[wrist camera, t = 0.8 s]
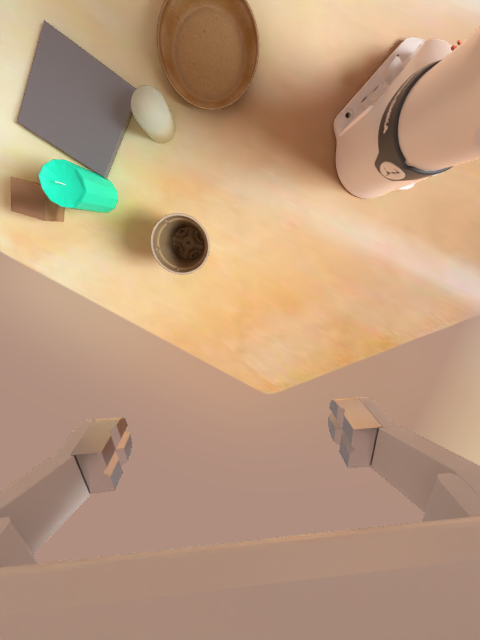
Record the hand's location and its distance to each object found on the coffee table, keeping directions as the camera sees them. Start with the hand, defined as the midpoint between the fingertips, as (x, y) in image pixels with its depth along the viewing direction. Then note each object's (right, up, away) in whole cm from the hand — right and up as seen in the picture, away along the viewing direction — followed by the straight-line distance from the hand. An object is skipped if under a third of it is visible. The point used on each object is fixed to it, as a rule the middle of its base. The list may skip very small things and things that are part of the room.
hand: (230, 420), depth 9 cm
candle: (-25, +27, +33) cm, 49 cm away
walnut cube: (-34, +25, +33) cm, 53 cm away
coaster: (-25, +38, +28) cm, 54 cm away
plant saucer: (-4, +45, +28) cm, 53 cm away
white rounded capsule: (-13, +36, +30) cm, 49 cm away
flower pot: (-10, +19, +37) cm, 43 cm away
